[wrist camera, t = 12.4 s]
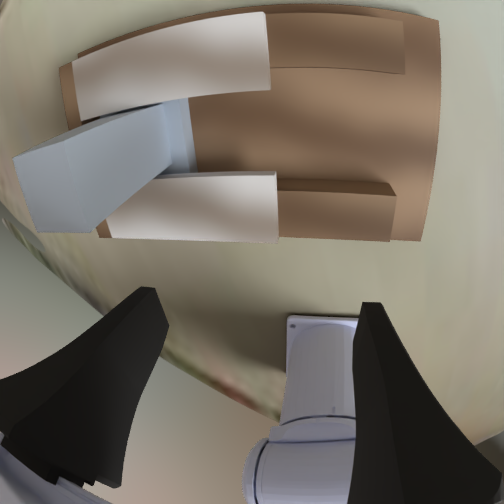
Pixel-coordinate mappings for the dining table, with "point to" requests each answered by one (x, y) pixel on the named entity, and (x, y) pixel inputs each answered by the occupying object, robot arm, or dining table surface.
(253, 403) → the dining table surface
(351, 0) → the dining table surface
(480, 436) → the dining table surface
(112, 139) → the t stud
